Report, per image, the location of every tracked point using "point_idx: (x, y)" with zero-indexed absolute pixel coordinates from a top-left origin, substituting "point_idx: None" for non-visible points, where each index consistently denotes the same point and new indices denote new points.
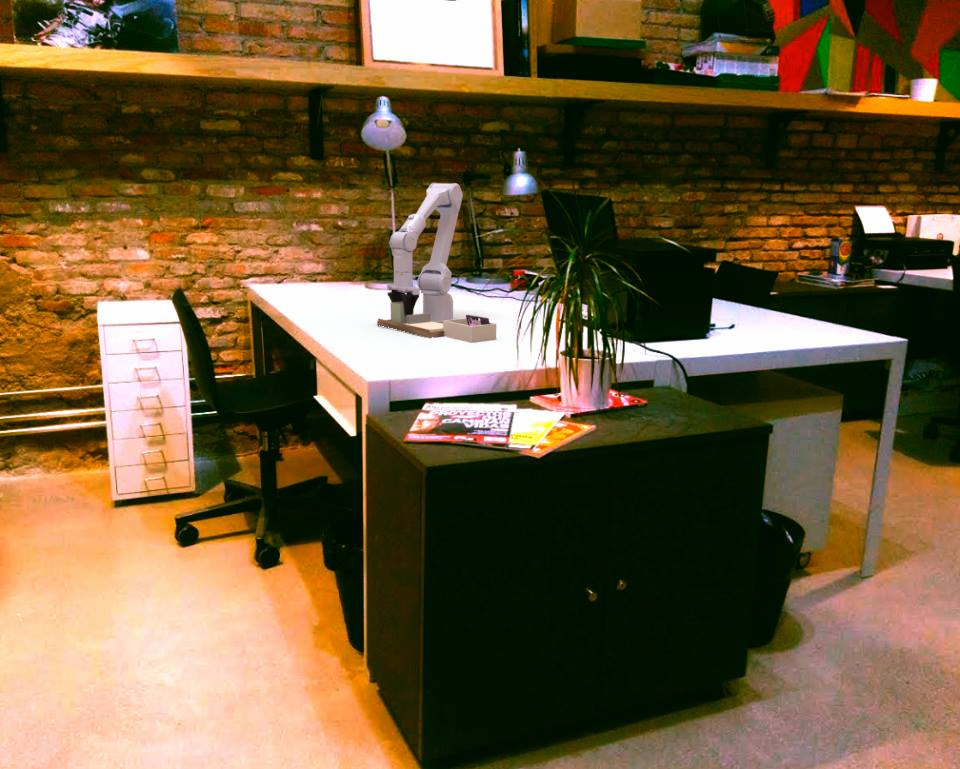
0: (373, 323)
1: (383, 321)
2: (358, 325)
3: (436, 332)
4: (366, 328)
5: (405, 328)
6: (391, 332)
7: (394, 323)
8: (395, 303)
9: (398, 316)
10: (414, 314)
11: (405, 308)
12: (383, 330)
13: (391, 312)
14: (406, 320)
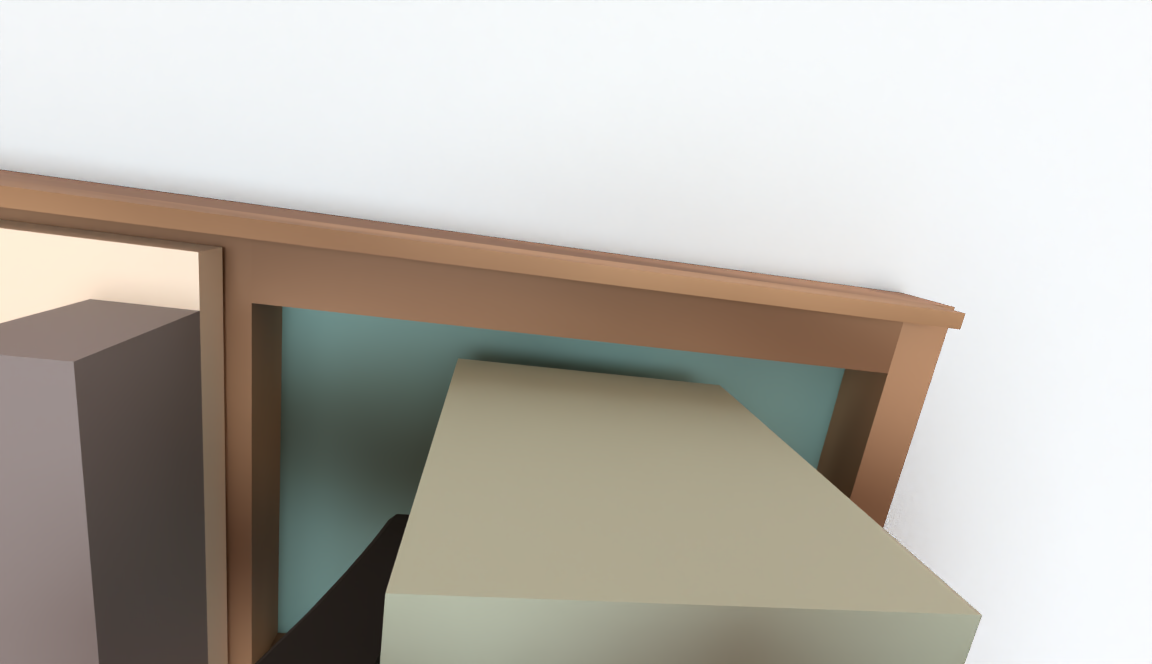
0: (1046, 377)
1: (802, 289)
2: (1120, 116)
3: None
4: (877, 3)
5: (115, 190)
6: (313, 18)
7: (472, 244)
8: (721, 631)
9: (509, 411)
10: (84, 595)
11: (315, 628)
12: (556, 67)
13: (773, 453)
14: (148, 325)
